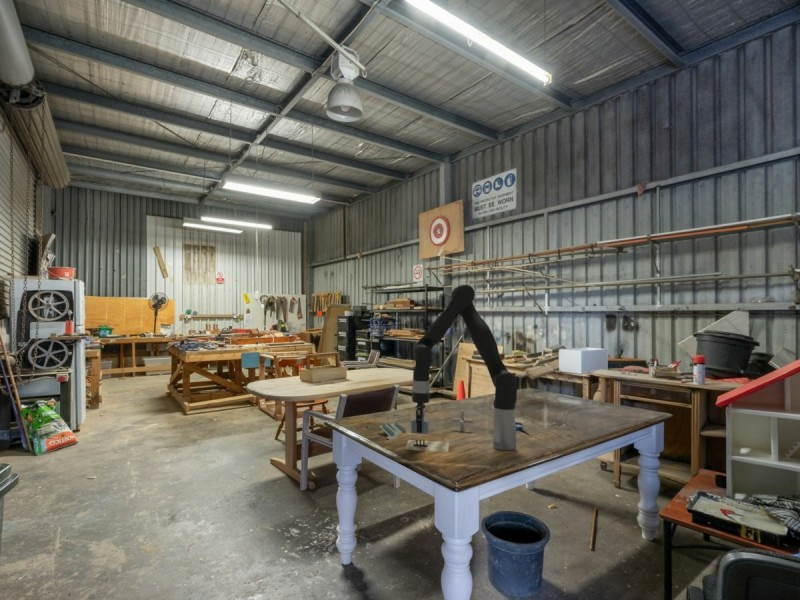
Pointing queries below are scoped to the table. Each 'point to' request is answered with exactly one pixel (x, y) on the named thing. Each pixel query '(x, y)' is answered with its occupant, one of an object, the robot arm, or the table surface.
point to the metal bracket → (392, 430)
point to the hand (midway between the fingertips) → (419, 430)
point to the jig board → (427, 445)
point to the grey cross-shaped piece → (462, 420)
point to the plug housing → (424, 426)
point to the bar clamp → (519, 426)
